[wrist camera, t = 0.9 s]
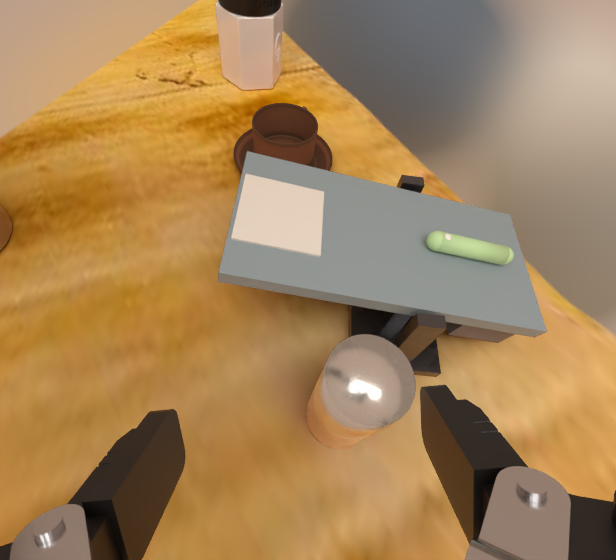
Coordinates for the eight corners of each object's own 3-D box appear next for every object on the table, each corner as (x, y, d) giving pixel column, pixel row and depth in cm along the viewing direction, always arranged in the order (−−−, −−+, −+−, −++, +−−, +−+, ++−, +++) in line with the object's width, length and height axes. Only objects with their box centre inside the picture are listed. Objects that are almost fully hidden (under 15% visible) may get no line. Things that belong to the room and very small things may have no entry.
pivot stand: (418, 237, 40) (454, 177, 32) (436, 376, 32) (490, 339, 24) (349, 229, 40) (369, 167, 32) (349, 368, 31) (376, 328, 24)
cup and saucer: (243, 130, 47) (241, 84, 42) (331, 142, 48) (340, 99, 42) (226, 194, 41) (220, 150, 36) (327, 207, 41) (336, 166, 36)
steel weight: (297, 395, 30) (311, 350, 20) (351, 374, 31) (388, 323, 22) (320, 459, 27) (348, 441, 18) (378, 434, 29) (432, 405, 19)
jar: (269, 97, 51) (270, -1, 41) (216, 84, 52) (203, -16, 41) (286, 67, 56) (290, -28, 46) (237, 55, 56) (231, -42, 46)
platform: (474, 246, 38) (523, 202, 32) (500, 353, 31) (565, 323, 26) (242, 195, 33) (249, 133, 28) (216, 307, 27) (219, 258, 21)
